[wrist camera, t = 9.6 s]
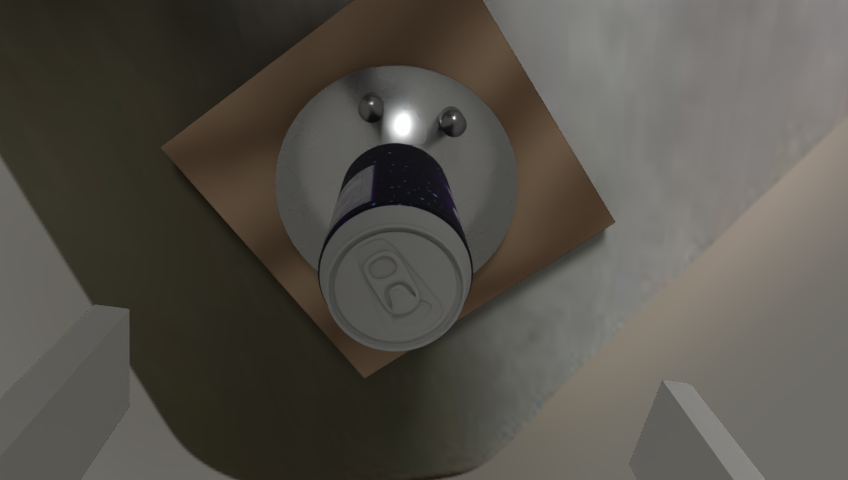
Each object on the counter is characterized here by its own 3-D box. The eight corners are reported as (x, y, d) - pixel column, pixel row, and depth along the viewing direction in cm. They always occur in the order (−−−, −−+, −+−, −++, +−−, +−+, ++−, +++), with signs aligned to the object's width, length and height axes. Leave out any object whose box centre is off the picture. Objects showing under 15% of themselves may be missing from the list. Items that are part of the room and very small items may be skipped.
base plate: (170, 141, 32) (160, 147, 31) (439, -64, 29) (441, -68, 28) (365, 365, 38) (364, 378, 37) (606, 213, 35) (615, 222, 33)
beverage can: (375, 257, 33) (365, 385, 21) (322, 170, 31) (281, 261, 19) (465, 212, 32) (504, 319, 21) (417, 119, 30) (431, 183, 19)
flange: (228, 158, 31) (212, 173, 28) (428, 10, 29) (431, 10, 26) (372, 330, 35) (370, 357, 33) (556, 212, 33) (571, 231, 30)
